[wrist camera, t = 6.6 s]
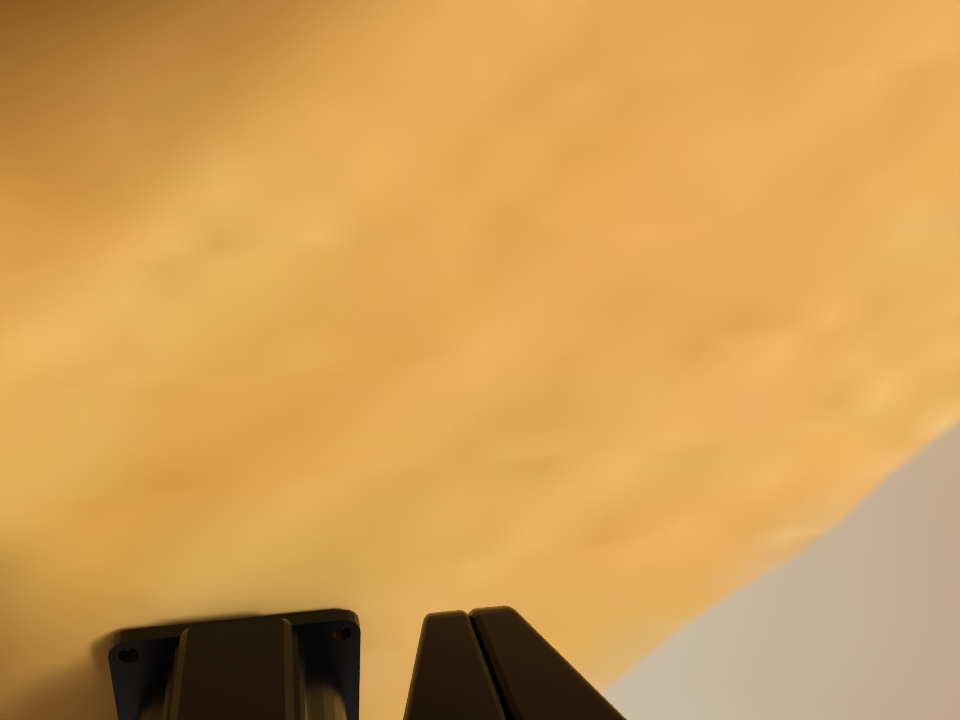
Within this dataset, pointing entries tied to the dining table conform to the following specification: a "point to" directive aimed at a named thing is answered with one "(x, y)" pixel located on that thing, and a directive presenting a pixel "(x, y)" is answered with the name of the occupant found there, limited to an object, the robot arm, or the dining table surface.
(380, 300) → the dining table surface
